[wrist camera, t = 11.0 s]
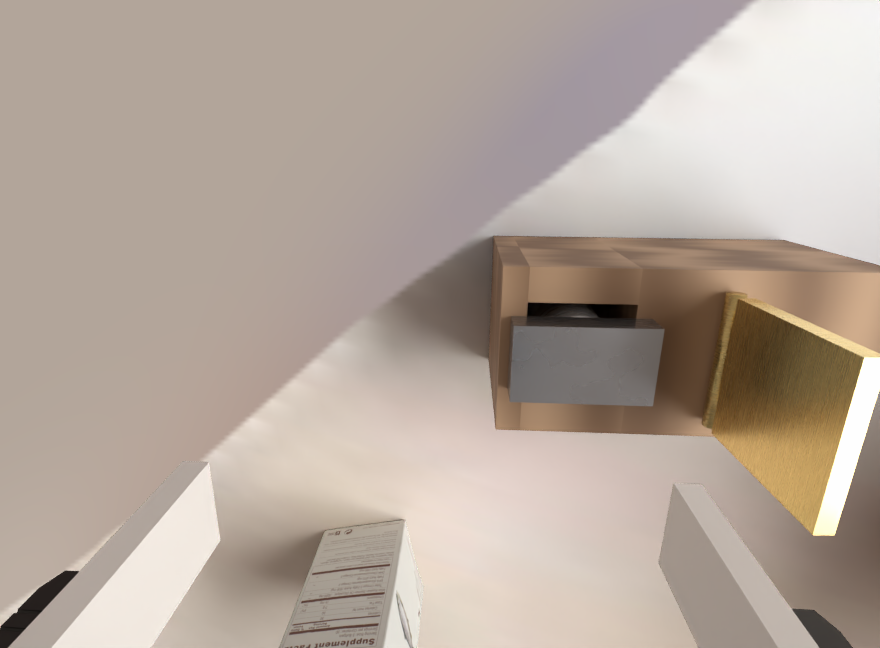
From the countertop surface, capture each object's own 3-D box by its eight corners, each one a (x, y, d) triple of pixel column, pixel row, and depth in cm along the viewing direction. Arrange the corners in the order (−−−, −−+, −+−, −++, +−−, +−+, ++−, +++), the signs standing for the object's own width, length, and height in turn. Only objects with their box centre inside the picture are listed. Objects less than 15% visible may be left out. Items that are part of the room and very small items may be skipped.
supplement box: (426, 586, 44) (410, 746, 32) (344, 595, 45) (298, 755, 33) (408, 516, 42) (384, 660, 30) (322, 526, 43) (265, 671, 31)
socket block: (488, 359, 37) (495, 429, 28) (493, 235, 34) (503, 266, 25) (755, 366, 36) (858, 441, 27) (783, 240, 33) (909, 273, 24)
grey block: (497, 329, 36) (509, 402, 25) (499, 274, 34) (513, 325, 24) (597, 332, 35) (652, 406, 25) (604, 276, 34) (664, 329, 24)
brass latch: (697, 420, 27) (811, 535, 19) (722, 291, 24) (863, 357, 16) (715, 420, 27) (835, 535, 19) (740, 291, 24) (890, 357, 16)
